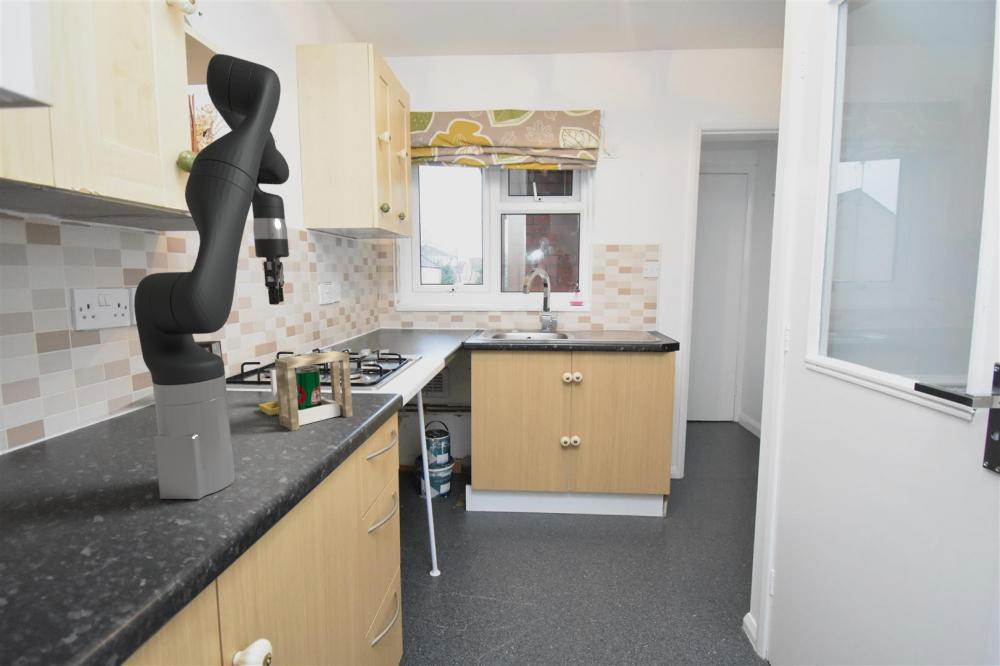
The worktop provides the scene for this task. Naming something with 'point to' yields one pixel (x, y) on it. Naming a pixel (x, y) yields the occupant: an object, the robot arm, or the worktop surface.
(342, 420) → the worktop surface
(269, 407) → the yellow rectangular frame
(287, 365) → the tunnel
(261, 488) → the worktop surface
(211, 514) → the worktop surface
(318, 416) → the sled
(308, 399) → the soda can
